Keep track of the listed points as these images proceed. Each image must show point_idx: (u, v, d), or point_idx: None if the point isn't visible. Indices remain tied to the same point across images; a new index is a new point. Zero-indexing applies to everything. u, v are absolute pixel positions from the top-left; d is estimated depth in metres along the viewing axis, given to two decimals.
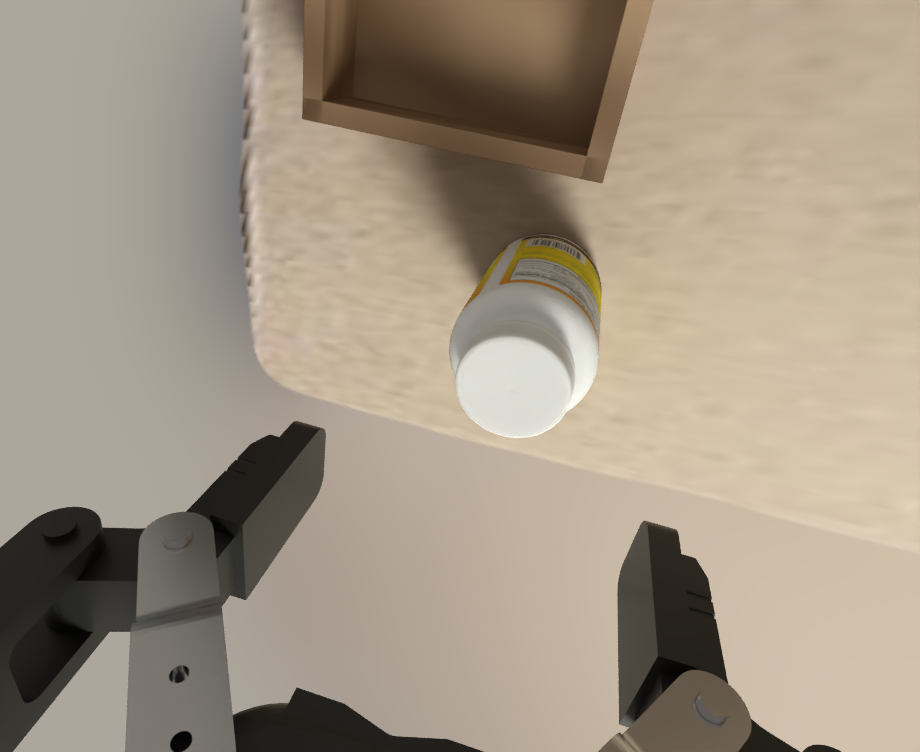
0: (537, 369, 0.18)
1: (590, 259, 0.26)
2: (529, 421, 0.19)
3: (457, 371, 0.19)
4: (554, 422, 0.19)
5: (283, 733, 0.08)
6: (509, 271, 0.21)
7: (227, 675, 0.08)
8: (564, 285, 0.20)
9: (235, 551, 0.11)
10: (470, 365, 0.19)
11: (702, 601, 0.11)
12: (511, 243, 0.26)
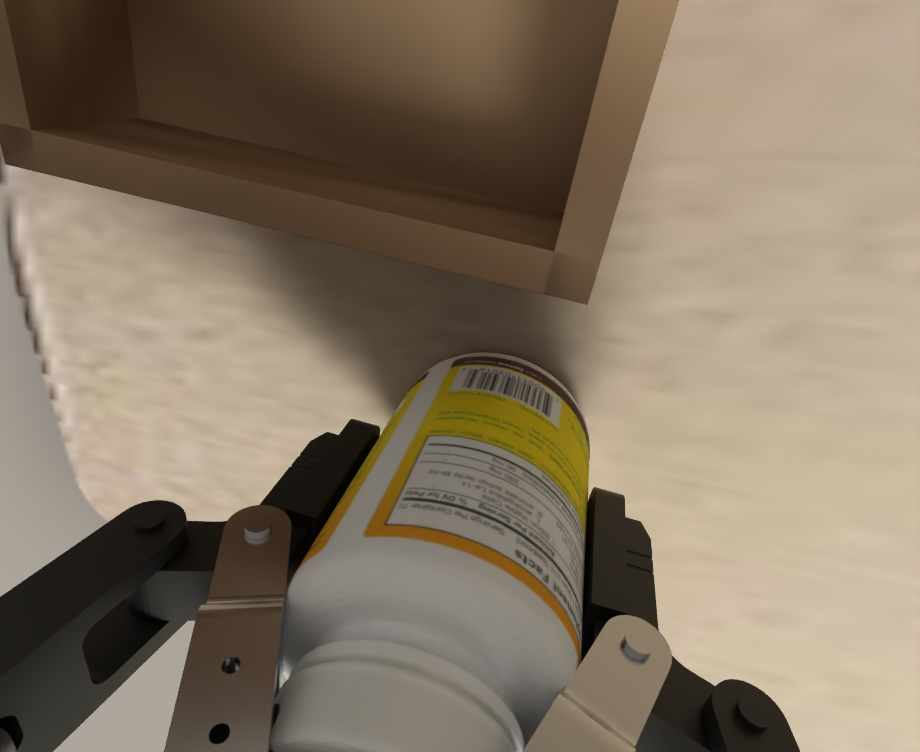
0: None
1: (570, 398, 0.15)
2: None
3: None
4: None
5: None
6: (398, 480, 0.10)
7: (273, 676, 0.08)
8: (506, 530, 0.10)
9: (307, 543, 0.12)
10: None
11: (642, 559, 0.12)
12: (435, 366, 0.15)
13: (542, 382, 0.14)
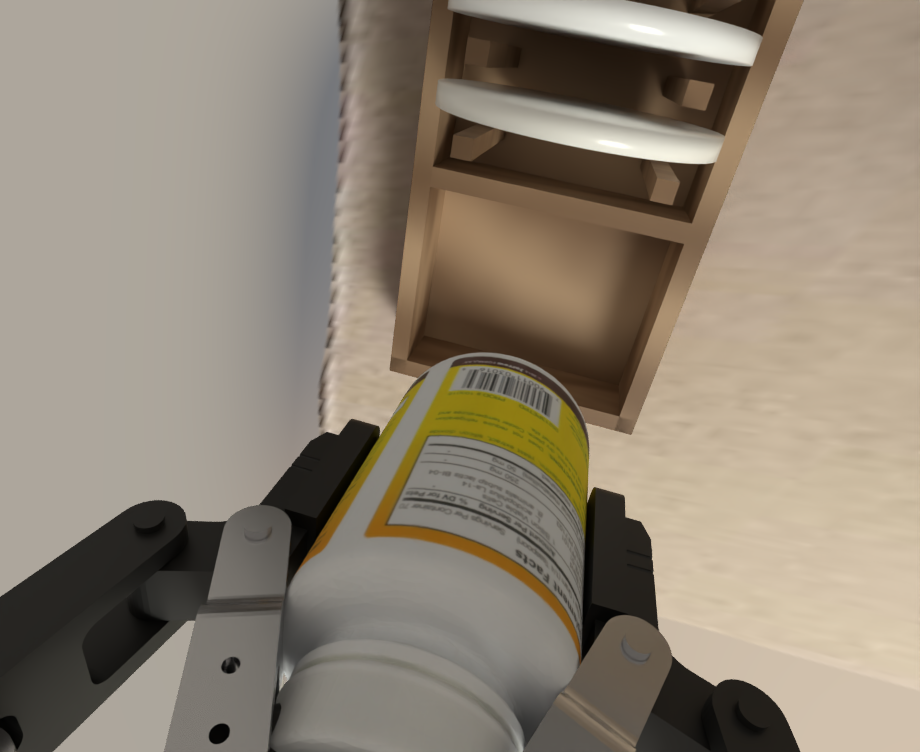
0: None
1: (569, 398, 0.15)
2: None
3: None
4: None
5: None
6: (399, 480, 0.10)
7: (273, 676, 0.08)
8: (505, 529, 0.10)
9: (307, 543, 0.12)
10: None
11: (642, 559, 0.12)
12: (435, 366, 0.15)
13: (542, 382, 0.14)
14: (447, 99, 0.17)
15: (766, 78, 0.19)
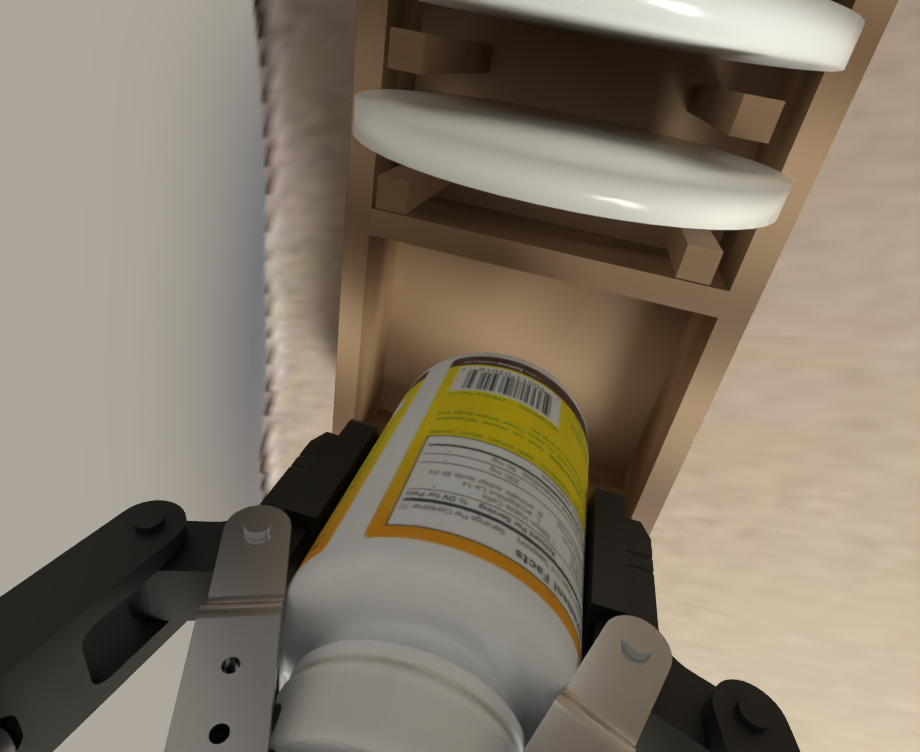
0: None
1: (569, 398, 0.15)
2: None
3: None
4: None
5: None
6: (399, 481, 0.10)
7: (273, 676, 0.08)
8: (506, 529, 0.10)
9: (306, 543, 0.12)
10: None
11: (642, 559, 0.12)
12: (435, 366, 0.15)
13: (542, 382, 0.14)
14: (360, 124, 0.11)
15: (847, 89, 0.13)
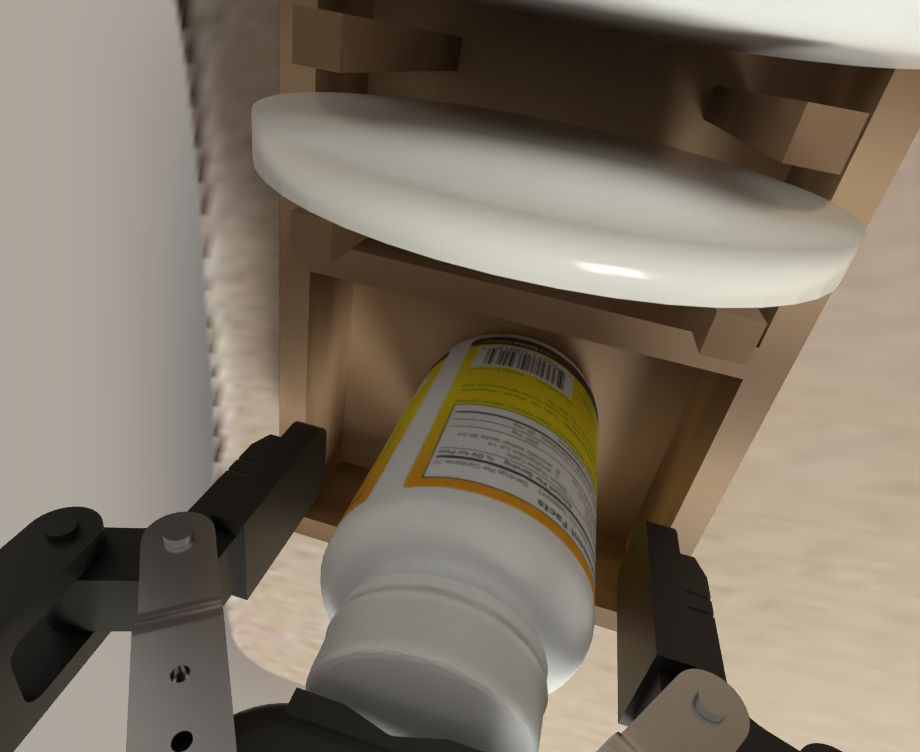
0: (463, 711, 0.09)
1: (581, 375, 0.16)
2: None
3: (307, 687, 0.09)
4: None
5: (283, 733, 0.08)
6: (431, 441, 0.12)
7: (228, 675, 0.08)
8: (528, 483, 0.11)
9: (236, 551, 0.11)
10: (329, 685, 0.09)
11: (701, 600, 0.11)
12: (455, 347, 0.16)
13: (555, 360, 0.15)
14: (254, 144, 0.08)
15: None
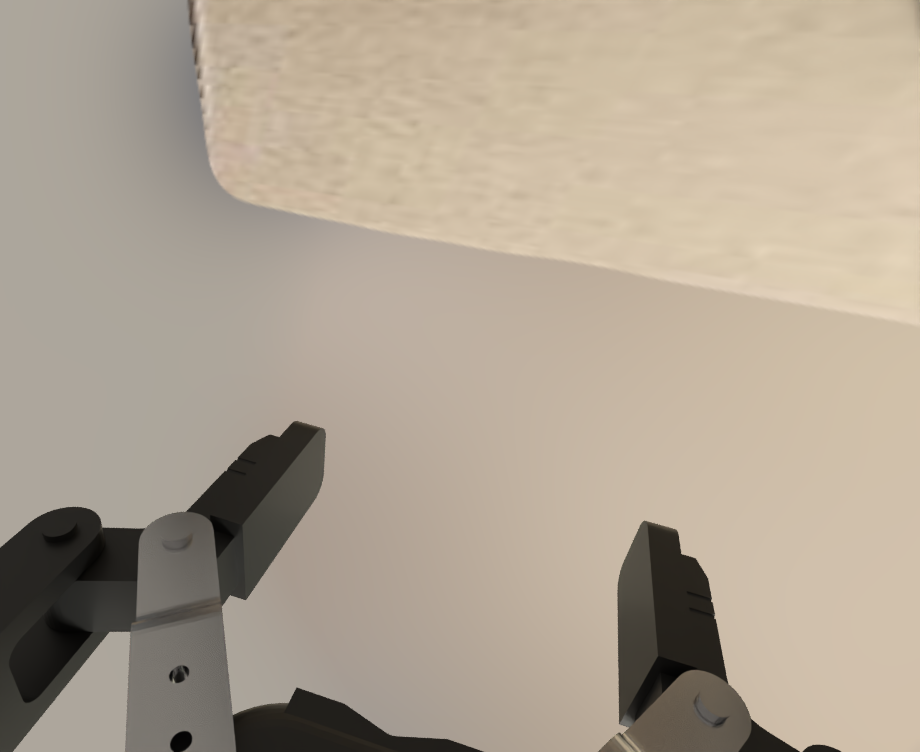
0: None
1: None
2: None
3: None
4: None
5: (283, 733, 0.08)
6: None
7: (227, 675, 0.08)
8: None
9: (235, 551, 0.11)
10: None
11: (702, 601, 0.11)
12: None
13: None
14: None
15: None
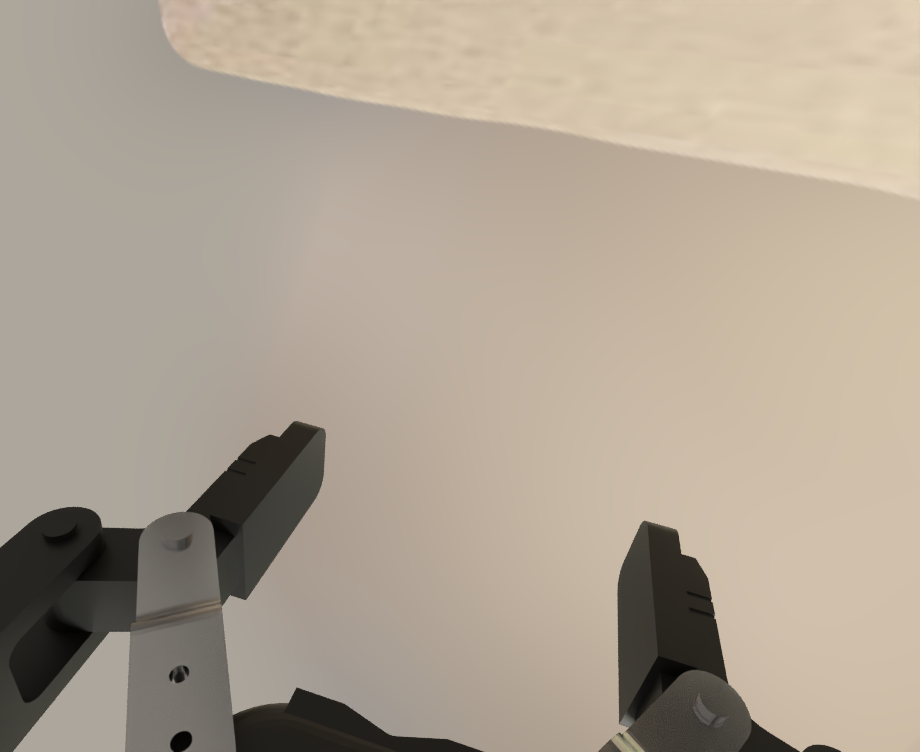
0: None
1: None
2: None
3: None
4: None
5: (283, 733, 0.08)
6: None
7: (227, 675, 0.08)
8: None
9: (235, 551, 0.11)
10: None
11: (702, 601, 0.11)
12: None
13: None
14: None
15: None
